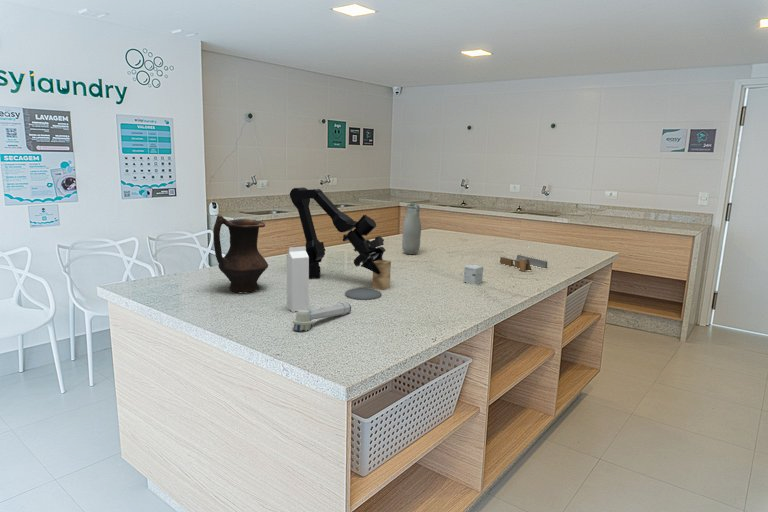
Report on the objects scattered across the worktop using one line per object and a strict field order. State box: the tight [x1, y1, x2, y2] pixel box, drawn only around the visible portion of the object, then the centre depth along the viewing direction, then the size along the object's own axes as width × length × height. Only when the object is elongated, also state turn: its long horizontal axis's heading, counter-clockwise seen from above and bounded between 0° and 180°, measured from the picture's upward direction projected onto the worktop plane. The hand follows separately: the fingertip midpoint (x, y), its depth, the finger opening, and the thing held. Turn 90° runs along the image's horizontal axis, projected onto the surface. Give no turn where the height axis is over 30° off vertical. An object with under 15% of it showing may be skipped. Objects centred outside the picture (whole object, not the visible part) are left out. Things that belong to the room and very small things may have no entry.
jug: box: [212, 214, 269, 293], centre depth 197 cm, size 21×18×30 cm
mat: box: [344, 287, 382, 301], centre depth 198 cm, size 14×14×1 cm
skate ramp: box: [499, 253, 549, 272], centre depth 256 cm, size 29×35×8 cm
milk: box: [285, 245, 310, 313], centre depth 176 cm, size 6×6×22 cm
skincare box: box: [463, 264, 484, 285], centre depth 222 cm, size 6×6×7 cm
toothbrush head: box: [292, 302, 352, 332], centre depth 166 cm, size 5×7×25 cm
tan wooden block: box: [371, 259, 392, 291], centre depth 209 cm, size 5×5×11 cm
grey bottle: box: [401, 202, 422, 255], centre depth 280 cm, size 10×10×28 cm
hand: (382, 272), depth 208 cm, fingers closed on tan wooden block, 5 cm apart
